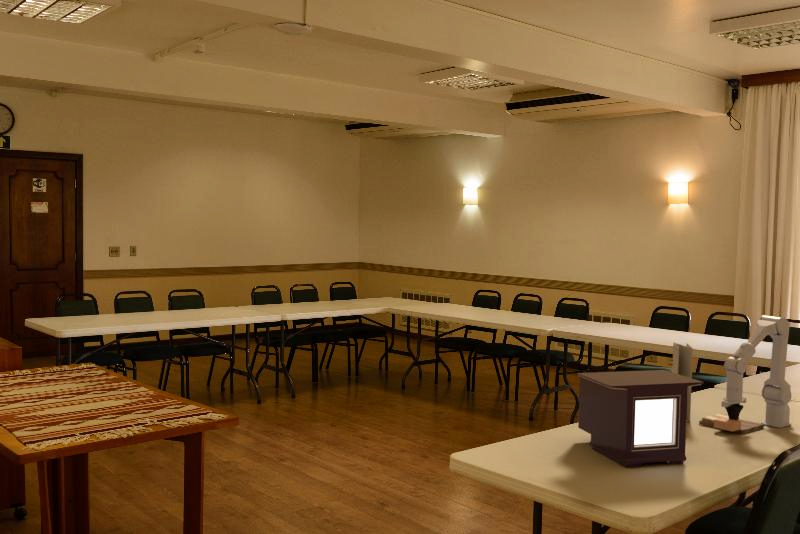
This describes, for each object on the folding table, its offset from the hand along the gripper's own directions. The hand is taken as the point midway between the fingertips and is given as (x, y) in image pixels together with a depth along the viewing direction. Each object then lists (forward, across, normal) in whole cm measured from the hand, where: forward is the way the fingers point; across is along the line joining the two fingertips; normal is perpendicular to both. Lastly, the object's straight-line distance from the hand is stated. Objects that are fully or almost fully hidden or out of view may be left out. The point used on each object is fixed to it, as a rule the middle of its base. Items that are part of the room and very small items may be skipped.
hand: (733, 423), depth 303 cm
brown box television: (+3, +58, -6) cm, 58 cm away
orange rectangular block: (+1, +4, 0) cm, 4 cm away
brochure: (+3, -2, -24) cm, 25 cm away
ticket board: (+3, -6, -4) cm, 8 cm away
